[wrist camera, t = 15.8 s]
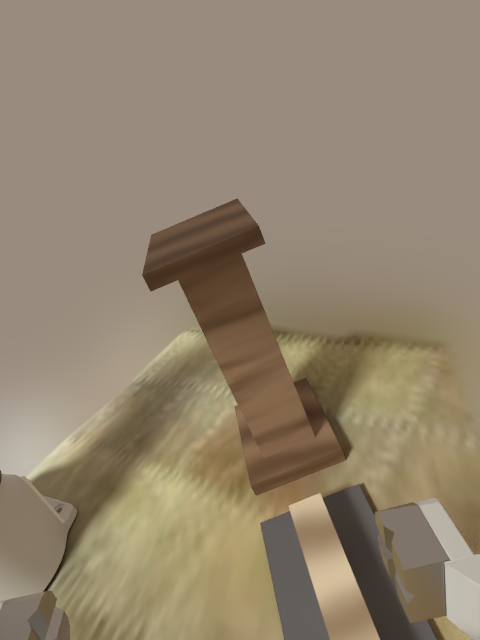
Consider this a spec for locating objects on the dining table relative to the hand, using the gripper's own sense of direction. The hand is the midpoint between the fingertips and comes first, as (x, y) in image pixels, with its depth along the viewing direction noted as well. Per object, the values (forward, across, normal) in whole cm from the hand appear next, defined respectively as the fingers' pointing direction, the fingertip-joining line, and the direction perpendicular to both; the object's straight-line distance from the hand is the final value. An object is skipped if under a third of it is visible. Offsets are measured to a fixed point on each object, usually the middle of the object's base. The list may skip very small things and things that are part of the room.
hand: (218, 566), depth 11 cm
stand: (+35, -4, +25) cm, 43 cm away
